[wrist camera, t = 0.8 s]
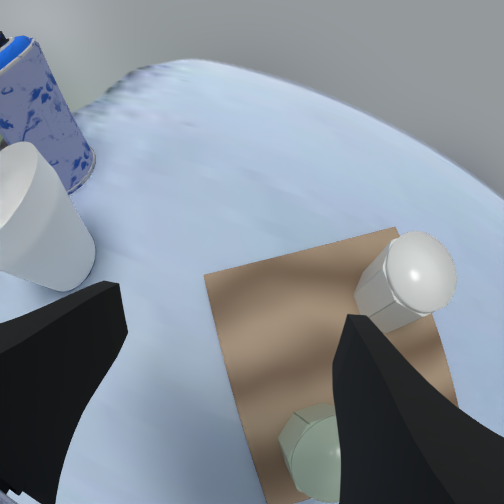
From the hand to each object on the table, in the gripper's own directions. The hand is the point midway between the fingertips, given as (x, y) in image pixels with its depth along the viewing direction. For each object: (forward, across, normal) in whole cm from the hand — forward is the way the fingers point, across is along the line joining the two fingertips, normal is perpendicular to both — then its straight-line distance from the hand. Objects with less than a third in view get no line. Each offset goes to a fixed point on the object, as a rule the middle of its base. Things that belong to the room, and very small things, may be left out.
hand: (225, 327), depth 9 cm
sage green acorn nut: (+5, -6, +14) cm, 16 cm away
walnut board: (+10, -8, +10) cm, 16 cm away
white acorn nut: (+14, -11, +6) cm, 19 cm away
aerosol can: (+21, +24, -1) cm, 32 cm away
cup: (+13, +18, +6) cm, 23 cm away
